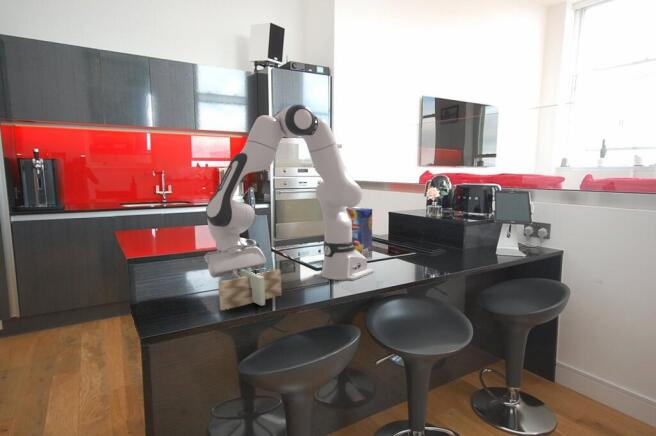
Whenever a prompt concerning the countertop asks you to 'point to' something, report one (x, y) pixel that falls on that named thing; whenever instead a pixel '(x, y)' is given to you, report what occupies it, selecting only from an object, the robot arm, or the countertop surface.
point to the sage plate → (255, 286)
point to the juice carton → (362, 229)
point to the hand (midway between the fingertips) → (245, 281)
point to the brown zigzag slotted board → (247, 289)
